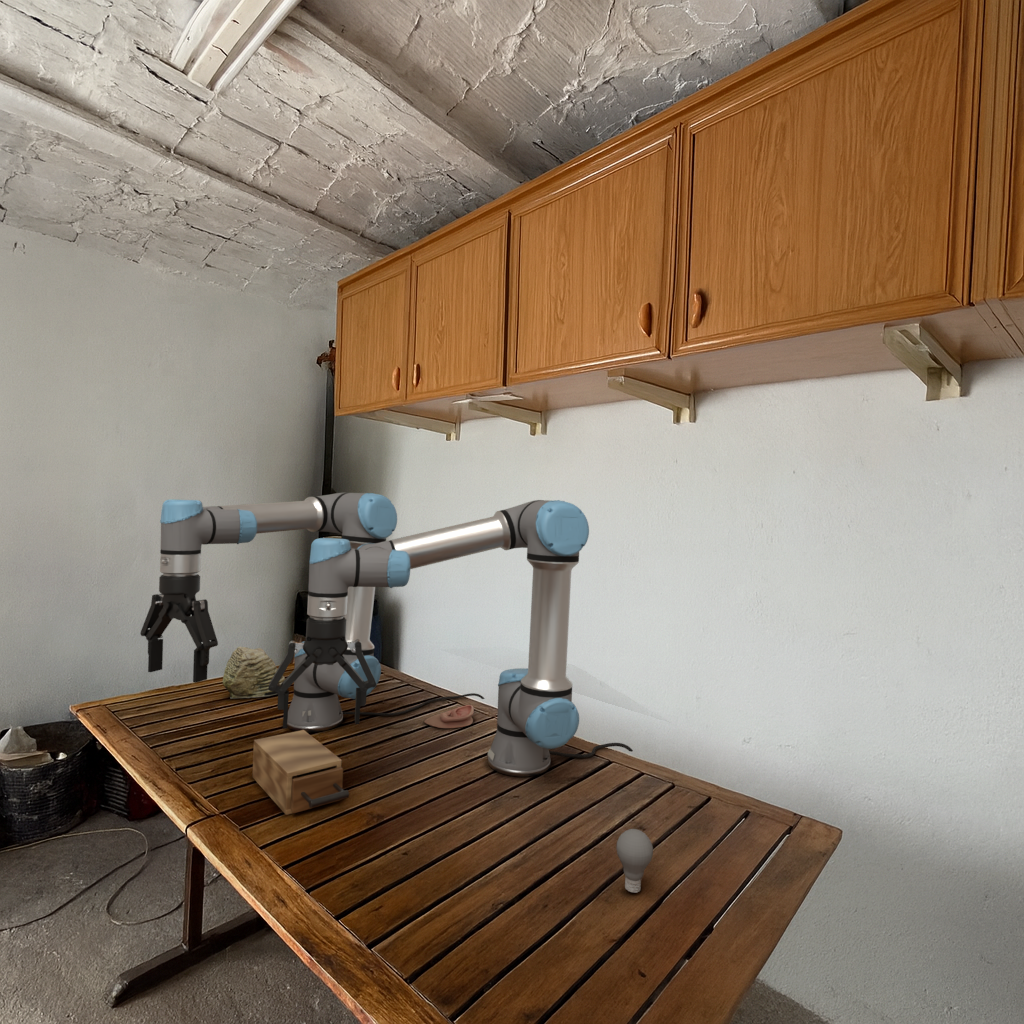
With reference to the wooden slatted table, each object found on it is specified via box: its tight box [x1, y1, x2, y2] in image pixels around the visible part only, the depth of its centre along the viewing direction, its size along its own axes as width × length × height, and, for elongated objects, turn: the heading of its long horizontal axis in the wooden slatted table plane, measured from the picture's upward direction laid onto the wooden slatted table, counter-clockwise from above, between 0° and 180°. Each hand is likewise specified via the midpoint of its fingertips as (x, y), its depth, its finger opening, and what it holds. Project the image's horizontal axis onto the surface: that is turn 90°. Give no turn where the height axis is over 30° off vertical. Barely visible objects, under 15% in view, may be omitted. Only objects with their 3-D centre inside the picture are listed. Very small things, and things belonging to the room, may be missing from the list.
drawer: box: [291, 766, 350, 814], centre depth 133 cm, size 25×10×6 cm, turn 40°
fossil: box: [222, 646, 286, 699], centre depth 198 cm, size 9×18×15 cm, turn 132°
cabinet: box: [252, 730, 342, 816], centre depth 137 cm, size 20×11×8 cm, turn 40°
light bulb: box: [615, 828, 654, 894], centre depth 106 cm, size 6×6×10 cm
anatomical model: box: [424, 704, 475, 729], centre depth 181 cm, size 13×4×12 cm
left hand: (177, 675), depth 132 cm, fingers open, 13 cm apart
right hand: (321, 724), depth 125 cm, fingers open, 13 cm apart
